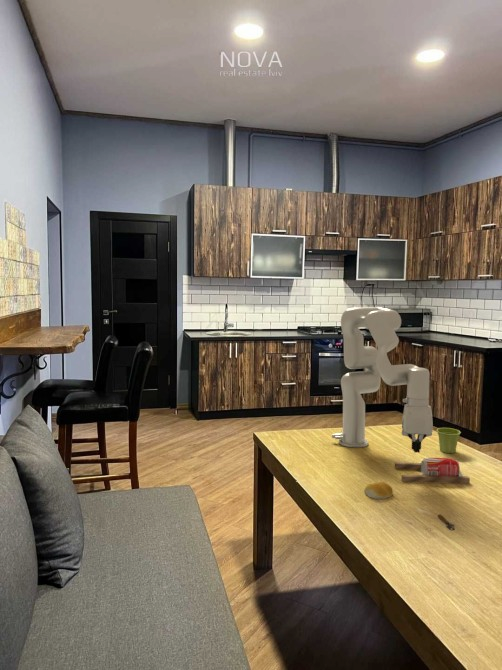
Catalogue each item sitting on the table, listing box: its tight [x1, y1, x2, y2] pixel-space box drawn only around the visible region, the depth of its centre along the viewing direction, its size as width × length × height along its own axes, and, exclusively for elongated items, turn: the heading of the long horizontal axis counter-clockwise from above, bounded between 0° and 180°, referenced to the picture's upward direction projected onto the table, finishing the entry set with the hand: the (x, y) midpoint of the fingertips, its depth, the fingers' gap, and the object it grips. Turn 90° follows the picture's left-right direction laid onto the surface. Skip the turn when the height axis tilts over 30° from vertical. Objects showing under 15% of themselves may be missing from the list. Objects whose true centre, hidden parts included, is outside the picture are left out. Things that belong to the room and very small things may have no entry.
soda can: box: [420, 457, 461, 476], centre depth 184 cm, size 7×7×12 cm
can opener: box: [437, 514, 455, 531], centre depth 150 cm, size 9×2×1 cm, turn 0°
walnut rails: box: [394, 462, 471, 485], centre depth 187 cm, size 23×14×2 cm, turn 86°
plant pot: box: [436, 427, 462, 454], centre depth 214 cm, size 9×9×9 cm
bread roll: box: [364, 481, 394, 500], centre depth 171 cm, size 8×9×4 cm
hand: (416, 451), depth 187 cm, fingers closed
